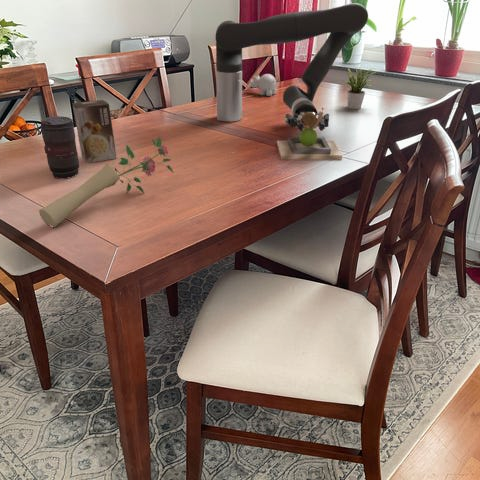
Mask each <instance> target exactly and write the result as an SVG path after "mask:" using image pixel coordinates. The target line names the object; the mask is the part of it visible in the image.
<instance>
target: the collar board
mask: <svg viewBox="0 0 480 480" xmlns="http://www.w3.org/2000/svg"><path fill="white" fill-rule="evenodd" d="M276 145H277V149H278V153H279V156H280V159H281V160H343V154H342V152H341V151H340V149H339V147H338V146H337V144H336V142H335V141H334V140H326V138H325V137H323V136H319V137H318V136H317V141H316V143H315V144H314V145H312V146H304V145H302V144H301V142H300V140H299V136H296V137H295V136H293V137H292V136H291V137H288V138H287V140H276Z"/></svg>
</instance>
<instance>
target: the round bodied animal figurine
mask: <svg viewBox="0 0 480 480" xmlns="http://www.w3.org/2000/svg"><path fill="white" fill-rule="evenodd" d="M276 86H277V79H276V78H275V77H274V75H273V74H271V73H265V74H262V75H261V76H260V75H259V74H257V76H256V75H254V76H253V79H252V78H250V87H251V88H252V89H254V88H256V87H257V88H259V89H260V91H259V95H260V96H267V97H272V95H275V94H277V88H276Z"/></svg>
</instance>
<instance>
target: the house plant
mask: <svg viewBox="0 0 480 480" xmlns="http://www.w3.org/2000/svg"><path fill="white" fill-rule="evenodd" d="M354 68H355V70H356V77H355V74H354V73H353V72H352V71H351V69H350V68H347V70H348V72H349V75H348V73H347V72H345V74H346V76H348V79H349V80H345V79H344V80H343V82H345V84H343V86H346V87H348V89H349V90H347V91H346V93H347V94H346V95H347V108H349V109H351V110H361V108H362V106H363V102H364V98H365V94H366V91H364V90H362V89H365V88H367V89H369V86H370V87H372V85H371V83H369V82H370V81H371V79H369V77H370V76H372V75H374V74H375V73H378V72H377V71H373V68H370V69H368V70H365V71H363V72H362V68H361V67H359V68H357V66H354ZM375 69H376V68H374V70H375ZM371 71H373V72H371ZM370 72H371V73H370ZM367 74H368V75H367ZM367 79H368V80H367ZM348 85H349V86H348Z"/></svg>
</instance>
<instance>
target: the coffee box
mask: <svg viewBox="0 0 480 480" xmlns="http://www.w3.org/2000/svg"><path fill="white" fill-rule="evenodd" d="M71 104H72V109H73V113H74V119H75V126H76V131H77V137H78V141H79V143H78V144H79V149H80V155H81V158H82V159H83V161H84V162H85V164H90V162H91V163H95V162H96V161H97V162H102V161H108V160H113V159H114V160H115V159H117V158H118V156H117V150H116V143H115V137H114V130H113V129H114V128H113V123H112V116H111V108H110V104H109V103H108V102H107V101H106V100H105V99H99V100H98V99H97V100H91V101H90V100H89V101H88V100H87V101H81V102H73V103H71Z"/></svg>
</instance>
